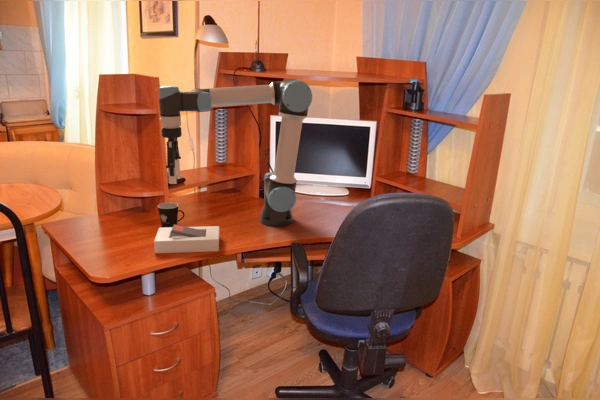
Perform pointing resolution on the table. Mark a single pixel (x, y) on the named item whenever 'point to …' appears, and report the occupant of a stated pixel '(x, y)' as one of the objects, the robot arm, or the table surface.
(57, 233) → the table surface
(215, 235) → the breaker panel
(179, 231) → the breaker rocker
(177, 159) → the robot arm
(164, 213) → the coffee mug
